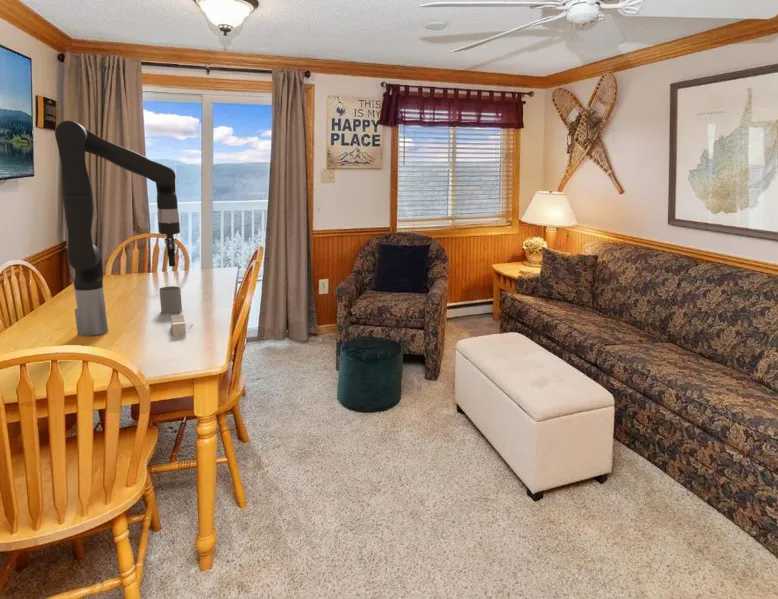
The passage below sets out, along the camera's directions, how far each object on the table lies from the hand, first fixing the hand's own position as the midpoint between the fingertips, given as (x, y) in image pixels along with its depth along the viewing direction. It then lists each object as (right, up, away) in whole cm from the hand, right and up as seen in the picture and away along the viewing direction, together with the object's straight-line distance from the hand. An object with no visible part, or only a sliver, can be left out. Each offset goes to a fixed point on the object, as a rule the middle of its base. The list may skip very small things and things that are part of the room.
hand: (172, 266), depth 206 cm
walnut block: (0, -21, +4) cm, 22 cm away
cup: (-10, -18, +25) cm, 33 cm away
